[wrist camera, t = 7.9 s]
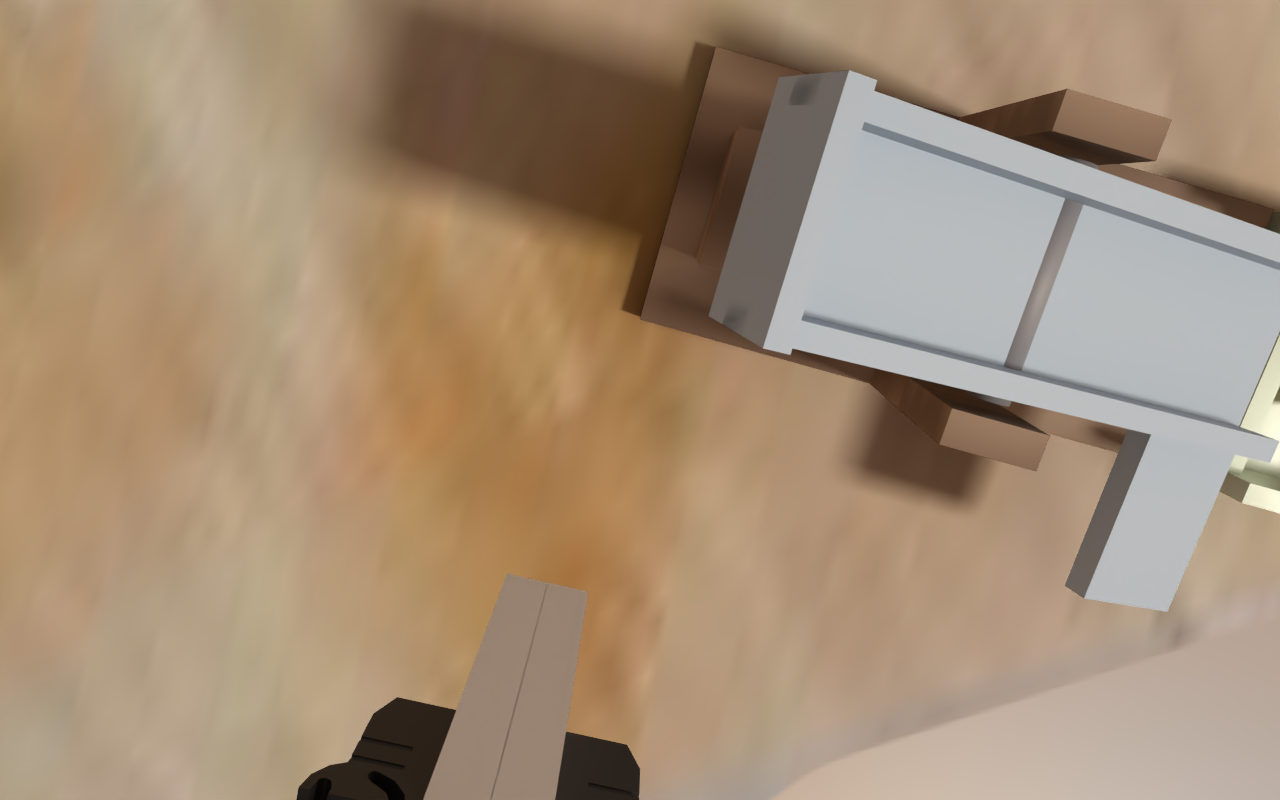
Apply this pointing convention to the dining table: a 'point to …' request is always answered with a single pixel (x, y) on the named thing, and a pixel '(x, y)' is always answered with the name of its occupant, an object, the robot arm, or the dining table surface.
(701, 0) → the dining table surface
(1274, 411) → the dish
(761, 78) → the stand
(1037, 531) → the dining table surface
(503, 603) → the robot arm
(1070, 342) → the lever
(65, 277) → the dining table surface
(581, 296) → the dining table surface
